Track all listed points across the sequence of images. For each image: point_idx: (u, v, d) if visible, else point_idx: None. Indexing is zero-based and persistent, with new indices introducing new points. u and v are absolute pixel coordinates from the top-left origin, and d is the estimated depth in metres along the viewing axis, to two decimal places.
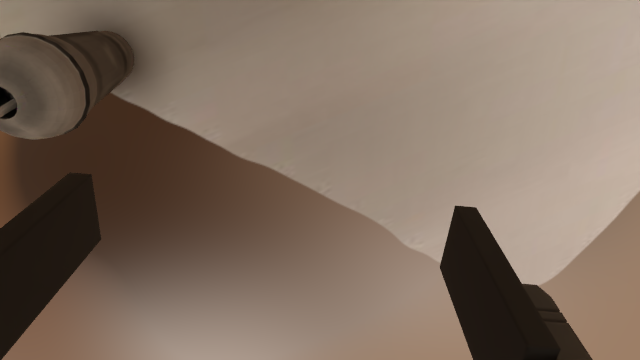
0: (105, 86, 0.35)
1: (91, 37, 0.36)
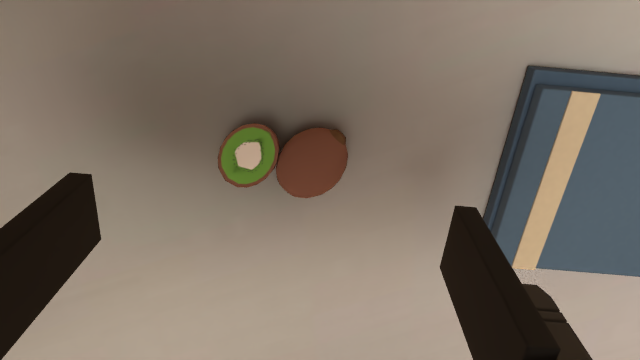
0: None
1: None
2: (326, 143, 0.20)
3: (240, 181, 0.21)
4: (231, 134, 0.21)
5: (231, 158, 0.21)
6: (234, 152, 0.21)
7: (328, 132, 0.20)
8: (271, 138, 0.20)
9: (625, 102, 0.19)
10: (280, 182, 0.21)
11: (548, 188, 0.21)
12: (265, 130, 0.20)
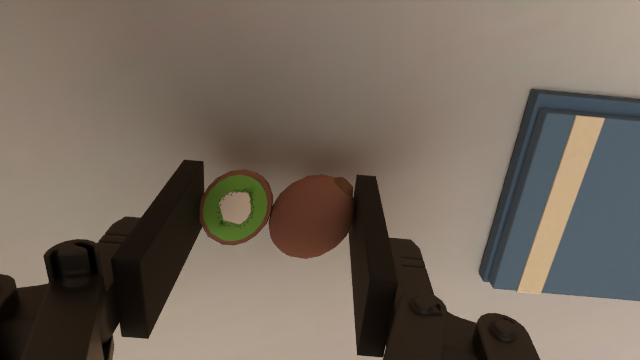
0: None
1: None
2: (329, 196, 0.16)
3: (225, 238, 0.18)
4: (215, 182, 0.17)
5: (215, 210, 0.17)
6: (219, 204, 0.17)
7: (332, 181, 0.16)
8: (263, 188, 0.17)
9: (629, 126, 0.19)
10: (274, 240, 0.17)
11: (553, 212, 0.21)
12: (256, 178, 0.17)
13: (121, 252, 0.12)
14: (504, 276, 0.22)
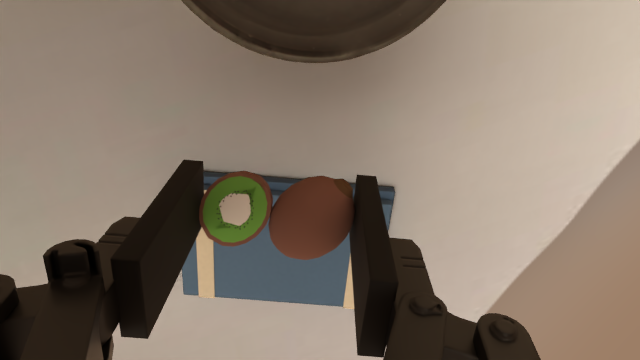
0: None
1: None
2: (329, 197, 0.16)
3: (225, 239, 0.18)
4: (215, 184, 0.17)
5: (215, 212, 0.17)
6: (219, 205, 0.17)
7: (332, 183, 0.16)
8: (263, 190, 0.17)
9: None
10: (273, 242, 0.17)
11: (202, 246, 0.32)
12: (255, 180, 0.17)
13: (121, 252, 0.12)
14: (187, 286, 0.34)
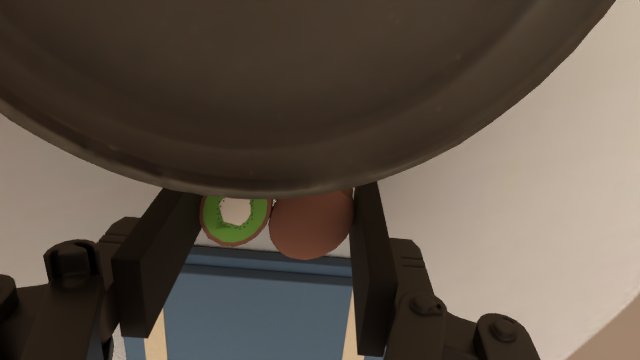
0: None
1: None
2: (329, 197, 0.16)
3: (225, 239, 0.18)
4: None
5: (215, 212, 0.17)
6: (218, 205, 0.17)
7: None
8: None
9: (184, 277, 0.23)
10: (273, 242, 0.17)
11: (151, 338, 0.25)
12: None
13: (121, 252, 0.12)
14: None
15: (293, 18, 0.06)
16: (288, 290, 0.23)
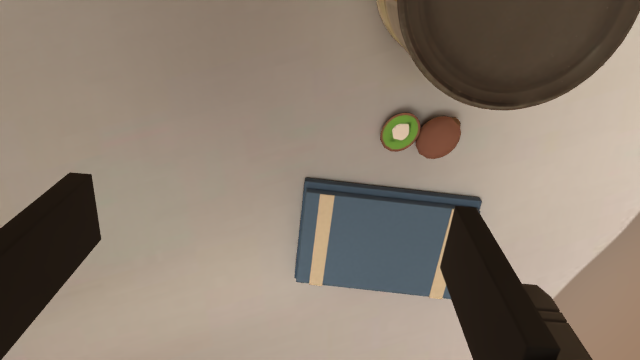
0: None
1: None
2: (451, 124, 0.34)
3: (393, 147, 0.35)
4: (391, 119, 0.35)
5: (389, 133, 0.35)
6: (392, 130, 0.35)
7: (451, 118, 0.34)
8: (416, 121, 0.34)
9: (348, 200, 0.37)
10: (419, 148, 0.35)
11: (319, 241, 0.39)
12: (413, 117, 0.34)
13: None
14: (301, 275, 0.40)
15: (523, 54, 0.20)
16: (411, 210, 0.37)
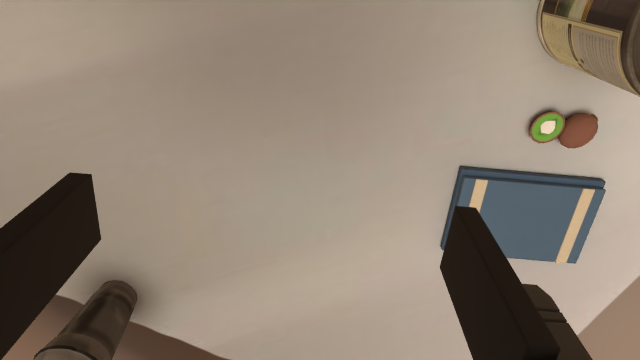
0: (116, 348, 0.49)
1: (106, 308, 0.49)
2: (592, 120, 0.42)
3: (541, 140, 0.44)
4: (540, 117, 0.43)
5: (538, 128, 0.43)
6: (540, 126, 0.43)
7: (591, 115, 0.42)
8: (562, 118, 0.43)
9: (499, 183, 0.46)
10: (563, 140, 0.43)
11: None
12: (559, 115, 0.43)
13: None
14: None
15: None
16: (549, 190, 0.46)
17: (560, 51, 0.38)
